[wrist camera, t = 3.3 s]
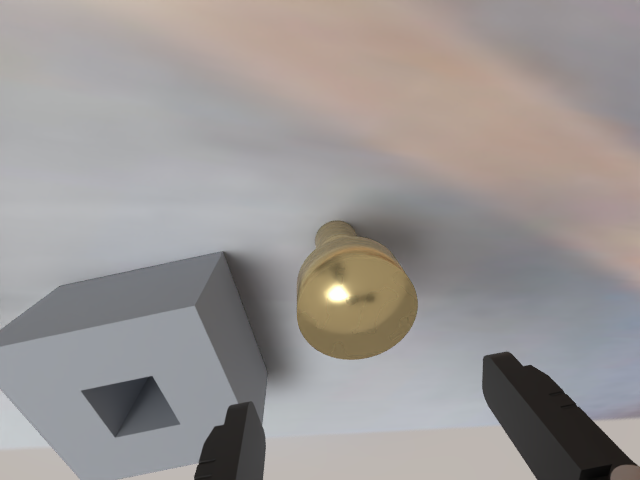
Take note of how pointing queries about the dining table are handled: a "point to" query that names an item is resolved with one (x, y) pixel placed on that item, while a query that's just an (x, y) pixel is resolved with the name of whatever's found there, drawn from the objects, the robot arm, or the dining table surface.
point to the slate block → (134, 366)
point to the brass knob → (353, 295)
